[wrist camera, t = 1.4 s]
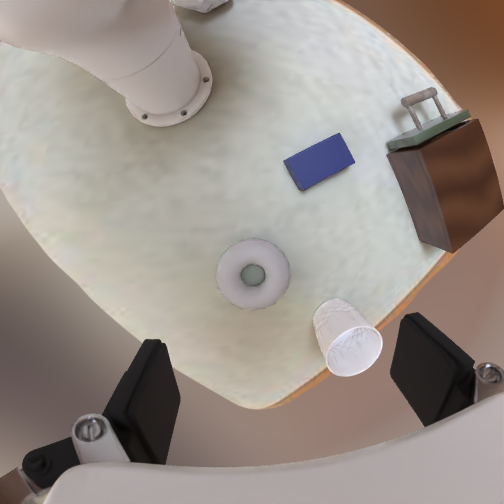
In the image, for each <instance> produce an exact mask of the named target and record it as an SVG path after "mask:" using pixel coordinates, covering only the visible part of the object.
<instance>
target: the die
mask: <svg viewBox="0 0 504 504" xmlns="http://www.w3.org/2000/svg"><path fill="white" fill-rule="evenodd" d="M227 1H229V0H174V5H176V6H180V7H184V8H188V9H192V10H196V11H199V12H203V13H207V12H209V11H211V10H212V9H214V8H216V7H218V6H219V5H221V4H223V3H225V2H227Z"/></svg>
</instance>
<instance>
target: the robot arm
mask: <svg viewBox="0 0 504 504" xmlns="http://www.w3.org/2000/svg"><path fill="white" fill-rule="evenodd" d="M0 40H1V41H3V42H5V43H7V44H10V45H12V46H15V47H18V48H22V49H26V50H31V51H36V52H41V53H46V54H51V55H54V56H58V57H60V58H63V59H66V60H68V61H70V62H72V63H74V64H76V65H77V66H79V67H81V68H82V69H84V70H86V71H87V72H89V73H90V74H92V75H94V76H95V77H97V78H98V79H99V80H101V81H102V82H104V83H105V84H107V85H109V86H110V87H112V88H113V89H115V90H116V91H118V92H119V93H120V94H122V95H123V96H125V101H126V105H127V107H128V109H129V111H130V112H131V114H132V115H133V116H134V117H135V118H136V119H138V120H139V121H141V122H143V123H145V124H148V125H151V126H156V127H166V126H171V125H175V124H178V123H181V122H183V121H185V120H187V119H189V118H190V117H192V116H193V115H194V114H195V113H197V112H198V111H199V110H200V108H201V107H202V106H203V105H204V104H205V102H206V100H207V99H208V97H209V94H210V92H211V88H212V73H211V69H210V67H209V64H208V63H207V61H206V60H205V58H204V57H203V56H202V55H200V54H199V53H197V52H196V51H194V50H192V49H190V47H189V44H188V42H187V39H186V37H185V35H184V32H183V30H182V27H181V25H180V22H179V20H178V17H177V15H176V12H175V10H174V8H173V6H172V4H171V3H170V1H169V0H0ZM205 81H208V82H206V83H205ZM184 113H187V114H186V115H185V116H184ZM146 117H148V118H147V119H146ZM474 363H475V361H474V360H473V359H472V358H471V357H470V356H469V355H468V354H466V353H465V352H464V351H463V350H462V349H461V348H460V347H459V346H457V345H456V344H455V343H454V342H453V341H452V340H451V339H449V338H448V337H447V336H446V335H445V334H444V333H442V332H441V331H440V330H439V329H438V328H437V327H435V326H434V325H433V324H432V323H430V322H429V321H428V320H427V319H425V317H423V316H422V315H421V314H420V313H418V312H416V313H411V314H406V315H405V316H404V318H403V319H402V320H401V322H400V328H399V333H398V338H397V343H396V348H395V352H394V357H393V361H392V365H391V369H390V375H391V378H392V379H393V381H394V382H395V383H396V385H397V386H398V388H399V389H400V391H401V392H402V393H403V395H404V396H405V398H406V399H407V401H408V402H409V404H410V405H411V407H412V408H413V410H414V411H415V413H416V414H417V416H418V417H419V419H420V420H421V422H422V423H423V425H424V426H425V427H424V428H422V429H419V430H417V431H414V432H412V433H409V434H407V435H404V436H401V437H398V438H395V439H392V440H389V441H386V442H383V443H380V444H377V445H374V446H370V447H366V448H363V449H359V450H355V451H351V452H347V453H343V454H339V455H334V456H329V457H324V458H319V459H314V460H307V461H301V462H295V463H286V464H278V465H267V466H253V467H223V468H222V467H217V468H216V467H184V466H170V465H165V464H166V460H167V455H168V451H169V446H170V442H171V438H172V433H173V430H174V425H175V421H176V417H177V413H178V409H179V405H180V393H179V389H178V386H177V383H176V379H175V376H174V372H173V369H172V365H171V361H170V358H169V354H168V350H167V346H166V344H165V343H162V342H161V340H159V339H145V340H144V342H143V344H142V346H141V347H140V349H139V351H138V353H137V354H136V356H135V358H134V360H133V361H132V363H131V365H130V367H129V369H128V371H126V372H125V373H124V375H123V377H122V378H121V380H120V382H119V384H118V386H117V387H116V389H115V391H114V393H113V395H112V397H111V399H110V400H109V402H108V404H107V406H106V408H105V410H104V412H103V414H102V415H98V414H87V415H84V416H82V417H79V418H78V419H77V420H76V421H75V422H74V423H73V424H72V426H71V430H70V431H71V437H69V438H66V439H64V440H61V441H58V442H55V443H53V444H50V445H47V446H44V447H41V448H38V449H35V450H33V451H30V452H29V453H28V454H27V455H26V456H25V457H24V459H23V463H22V467H23V468H22V469H21V470H20V469H19V468H18V467H17V468H15V469H14V470H12V471H11V472H9V473H8V474H6V475H4V476H3V477H1V478H0V504H504V371H503V369H502V368H501V367H499V366H498V365H496V364H493V363H482V364H480V365H478V366H477V367H476V369H474V368H473V365H474Z"/></svg>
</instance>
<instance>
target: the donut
mask: <svg viewBox="0 0 504 504" xmlns="http://www.w3.org/2000/svg"><path fill="white" fill-rule="evenodd" d="M251 264H256V265H259V266H261V267H262V268H263V269H264V271H265V274H266V276H265V279H264V281H263V282H262V283H261V284H260V285H257V286H248V285H246V284H245V283H244V282H243V281H242V280H241V272H242V270H243V269H244V268H245V267H246V266H248V265H251ZM216 279H217V284H218V288H219V290H220V292H221V293H222V295H223V297H224V298H225V299H226V300H228V301H229V302H230V303H231V304H232V305H234V306H237V307H239V308H241V309H247V310H259V309H264V308H267V307H269V306H271V305H273V304H275V303H276V302H277V301H278V300H279V299H280V298H281V297H282V296H283V295H284V293H285V291H286V289H287V288H288V285H289V280H290V269H289V263H288V261H287V259H286V257H285V255H284V254H283V253H282V252H281V251H280V250H279V249H278V248H277V247H276V246H275V245H273V244H271V243H269V242H267V241H265V240H259V239H248V240H242V241H239V242H238V243H236V244H234V245H232V246H230V247H229V248H228V249H227V250H226V251H225V252H224V253H223V254H222V256H221V258H220V260H219V262H218V264H217V270H216Z"/></svg>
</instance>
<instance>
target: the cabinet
mask: <svg viewBox="0 0 504 504" xmlns="http://www.w3.org/2000/svg"><path fill="white" fill-rule="evenodd" d="M451 130H453V131H451ZM446 131H451V132H449V133H447V134H445V135H444V136H442V137H440V138H438V139H436V140H434V141H432V142H431V143H429V144H427V145H425V146H423V147H421V148H417V149H414V148H416V147H418V146H420V145H421V144H423V143H425V142H427V141H429V140H431V139H433V138H435V137H437V136H439V135H440V134H442V133H444V132H446ZM387 157H388V159H389V162H390V164H391V166H392V168H393V171H394V173H395V175H396V178H397V180H398V182H399V185H400V187H401V190H402V192H403V195H404V197H405V200H406V203H407V205H408V208H409V211H410V214H411V216H412V219H413V222H414V225H415V228H416V231H417V234H418V237H419V240H420V241H422V242H425V243H427V244H430V245H432V246H435V247H437V248H440V249H442V250H445V251H447V252H450V253H452V254H453V253H454V252H456V251H457V250H458V249H459V248H461V247H462V246H463V245H464V244H465V243H467V242H468V241H469V240H470V239H471V238H472V237H474V236H475V235H476V234H477V233H478V232H479V231H480V230H481V229H482V228H484V227H485V226H486V225H487V224H488V223H489V222H490V221H491V220H492V219H493V218H495V216H497V215H498V214H499V213H500V212H501V211H502V210H503V209H504V205H503V199H502V195H501V190H500V186H499V181H498V177H497V174H496V170H495V166H494V163H493V159H492V156H491V153H490V150H489V147H488V144H487V141H486V138H485V135H484V132H483V130H482V127H481V124H480V122H479V119H473V120H467V121H462V122H460V123H458V124H456V125H454V126H452V127H450V128H448V129H447V130H445V131H443V132H441V133H439V134H437V135H435V136H433V137H431V138H429V139H427V140H425V141H424V142H422V143H420V144H418V145H414V146H408V147H402V148H398V149H396V150H394V151H392V152H390V153H388V154H387Z"/></svg>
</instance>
